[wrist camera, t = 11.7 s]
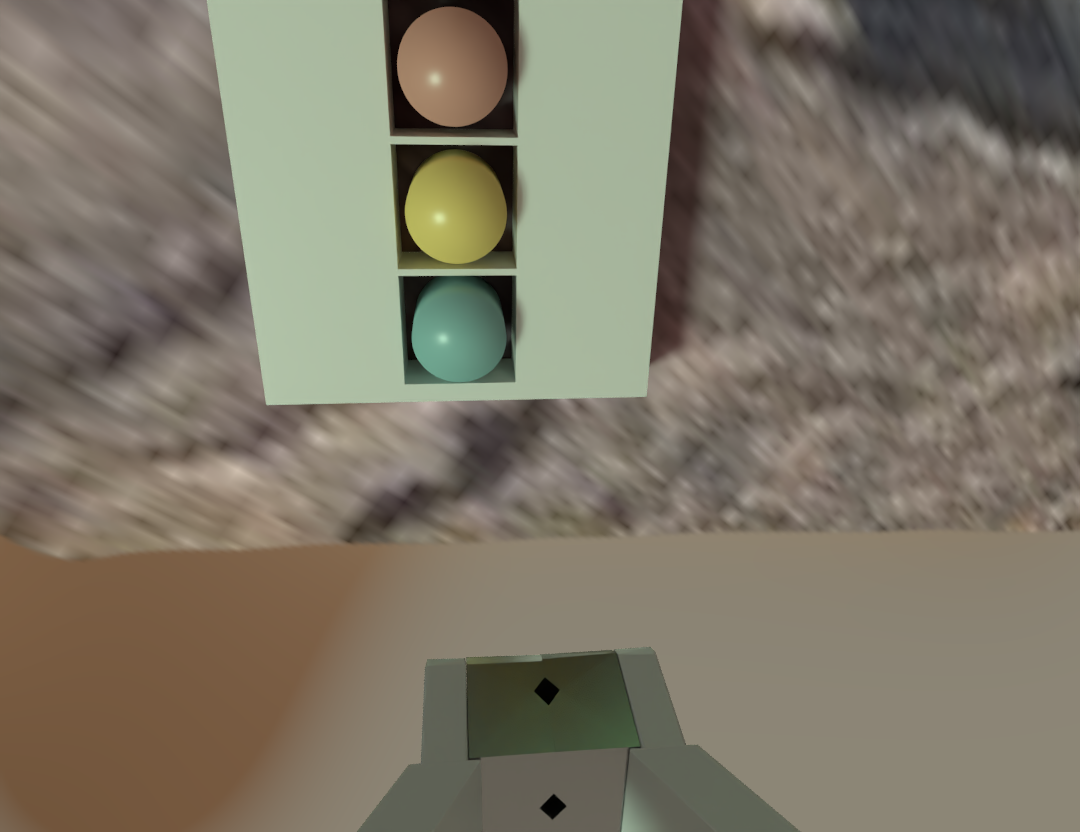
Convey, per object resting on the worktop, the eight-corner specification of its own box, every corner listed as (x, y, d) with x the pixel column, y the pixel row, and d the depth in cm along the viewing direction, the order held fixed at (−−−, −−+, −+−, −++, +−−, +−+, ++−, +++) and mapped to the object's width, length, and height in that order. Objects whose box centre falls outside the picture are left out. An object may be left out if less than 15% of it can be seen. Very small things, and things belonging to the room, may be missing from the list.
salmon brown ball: (502, 10, 32) (507, 8, 29) (502, 118, 34) (507, 127, 31) (399, 7, 32) (393, 4, 29) (405, 117, 34) (400, 126, 31)
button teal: (502, 270, 37) (506, 293, 34) (502, 353, 39) (506, 381, 36) (413, 271, 37) (409, 293, 34) (417, 354, 39) (414, 383, 35)
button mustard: (502, 149, 35) (507, 161, 32) (502, 243, 36) (506, 263, 33) (406, 148, 34) (402, 160, 31) (411, 243, 36) (407, 264, 33)
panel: (666, -23, 33) (685, -28, 30) (633, 372, 41) (646, 396, 38) (222, -37, 31) (200, -44, 28) (279, 379, 39) (266, 405, 36)
